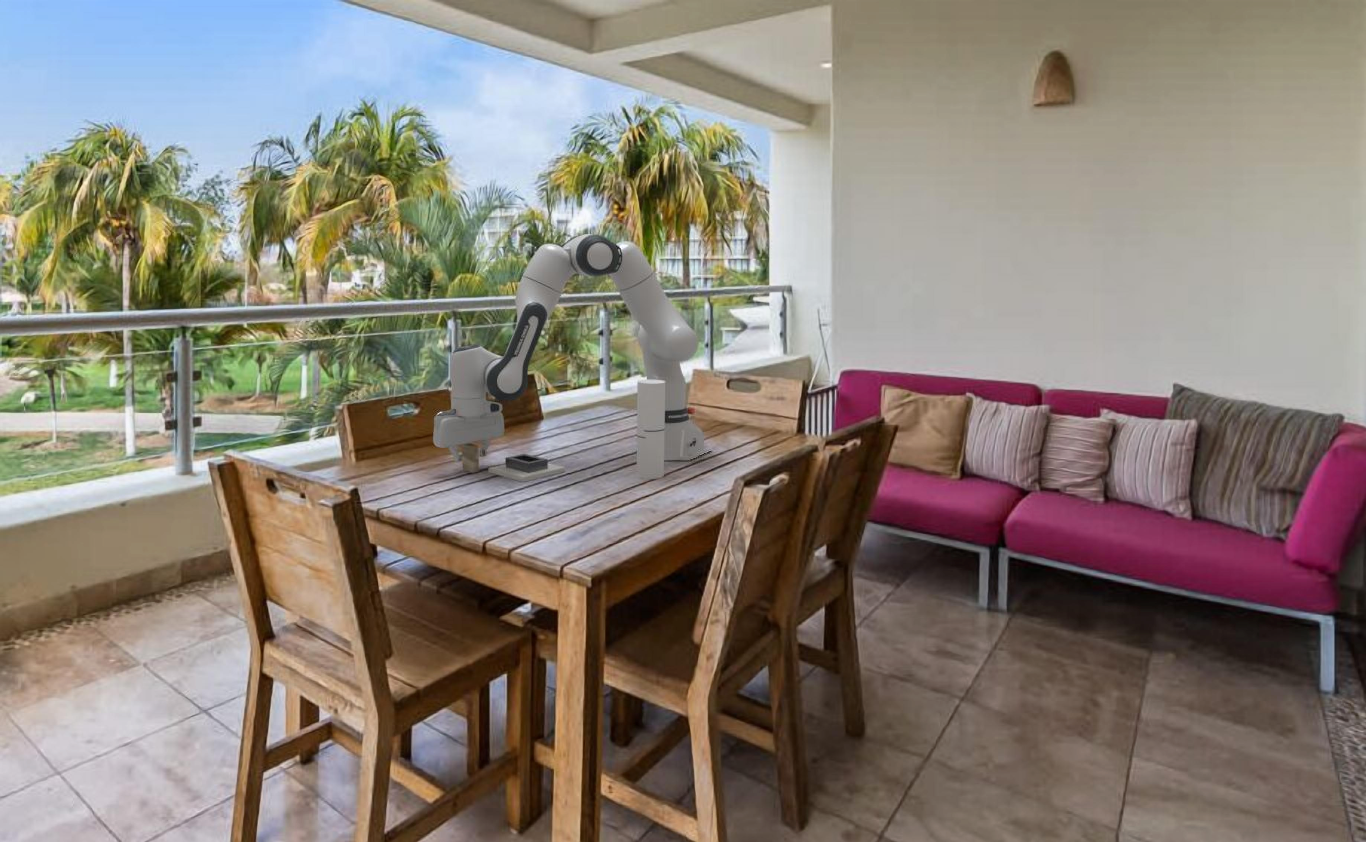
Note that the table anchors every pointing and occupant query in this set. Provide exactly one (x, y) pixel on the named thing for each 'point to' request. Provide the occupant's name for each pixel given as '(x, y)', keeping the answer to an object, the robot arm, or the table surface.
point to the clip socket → (526, 463)
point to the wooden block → (470, 457)
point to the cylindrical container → (650, 428)
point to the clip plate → (525, 476)
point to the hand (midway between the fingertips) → (470, 458)
